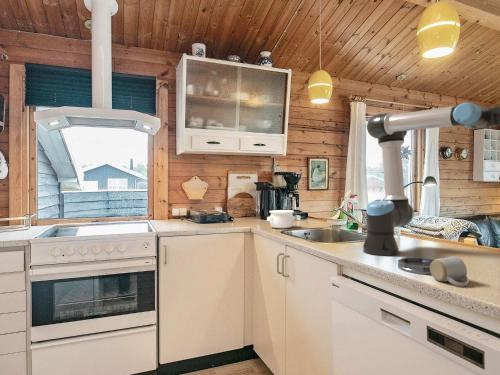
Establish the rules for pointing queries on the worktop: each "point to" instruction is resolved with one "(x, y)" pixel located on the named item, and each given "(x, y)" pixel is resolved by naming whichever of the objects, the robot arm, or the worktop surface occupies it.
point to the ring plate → (415, 265)
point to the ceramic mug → (449, 270)
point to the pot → (281, 218)
